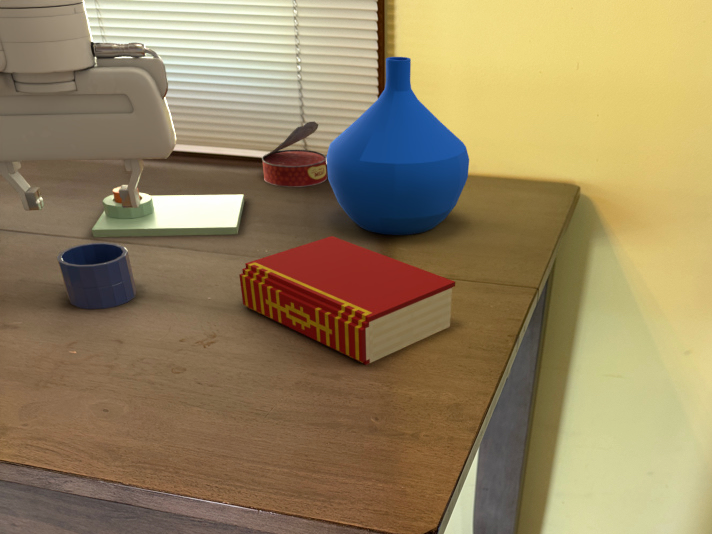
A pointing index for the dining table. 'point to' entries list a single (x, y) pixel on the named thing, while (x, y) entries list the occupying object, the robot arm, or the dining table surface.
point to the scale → (171, 216)
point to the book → (348, 297)
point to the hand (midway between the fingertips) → (83, 207)
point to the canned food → (295, 162)
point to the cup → (97, 275)
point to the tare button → (117, 196)
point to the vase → (397, 162)
